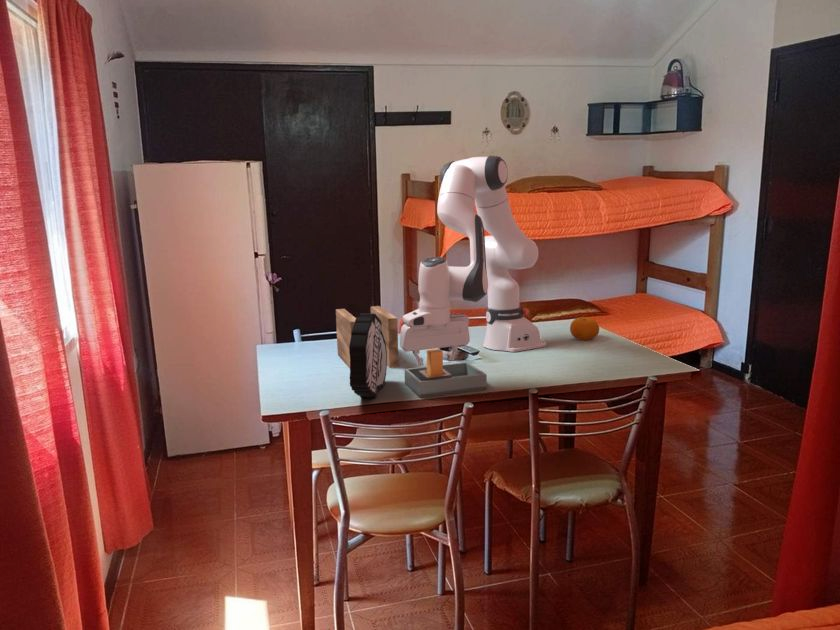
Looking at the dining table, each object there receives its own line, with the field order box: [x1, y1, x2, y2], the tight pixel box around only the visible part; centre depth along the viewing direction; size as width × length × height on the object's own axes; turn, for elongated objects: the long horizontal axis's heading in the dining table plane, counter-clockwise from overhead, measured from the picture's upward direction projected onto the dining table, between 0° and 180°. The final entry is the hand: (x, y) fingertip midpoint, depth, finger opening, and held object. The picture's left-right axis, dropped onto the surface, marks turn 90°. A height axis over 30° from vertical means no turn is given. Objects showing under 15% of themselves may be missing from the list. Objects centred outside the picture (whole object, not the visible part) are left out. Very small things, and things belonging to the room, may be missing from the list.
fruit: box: [569, 316, 600, 341], centre depth 246 cm, size 10×10×8 cm
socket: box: [419, 369, 452, 381], centre depth 193 cm, size 7×7×4 cm
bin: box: [403, 361, 488, 399], centre depth 194 cm, size 20×14×4 cm
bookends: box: [335, 305, 399, 369], centre depth 222 cm, size 15×22×16 cm
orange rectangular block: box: [426, 348, 444, 376], centre depth 192 cm, size 4×4×10 cm
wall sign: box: [349, 312, 388, 399], centre depth 186 cm, size 22×4×30 cm
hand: (435, 362), depth 192 cm, fingers open, 8 cm apart
